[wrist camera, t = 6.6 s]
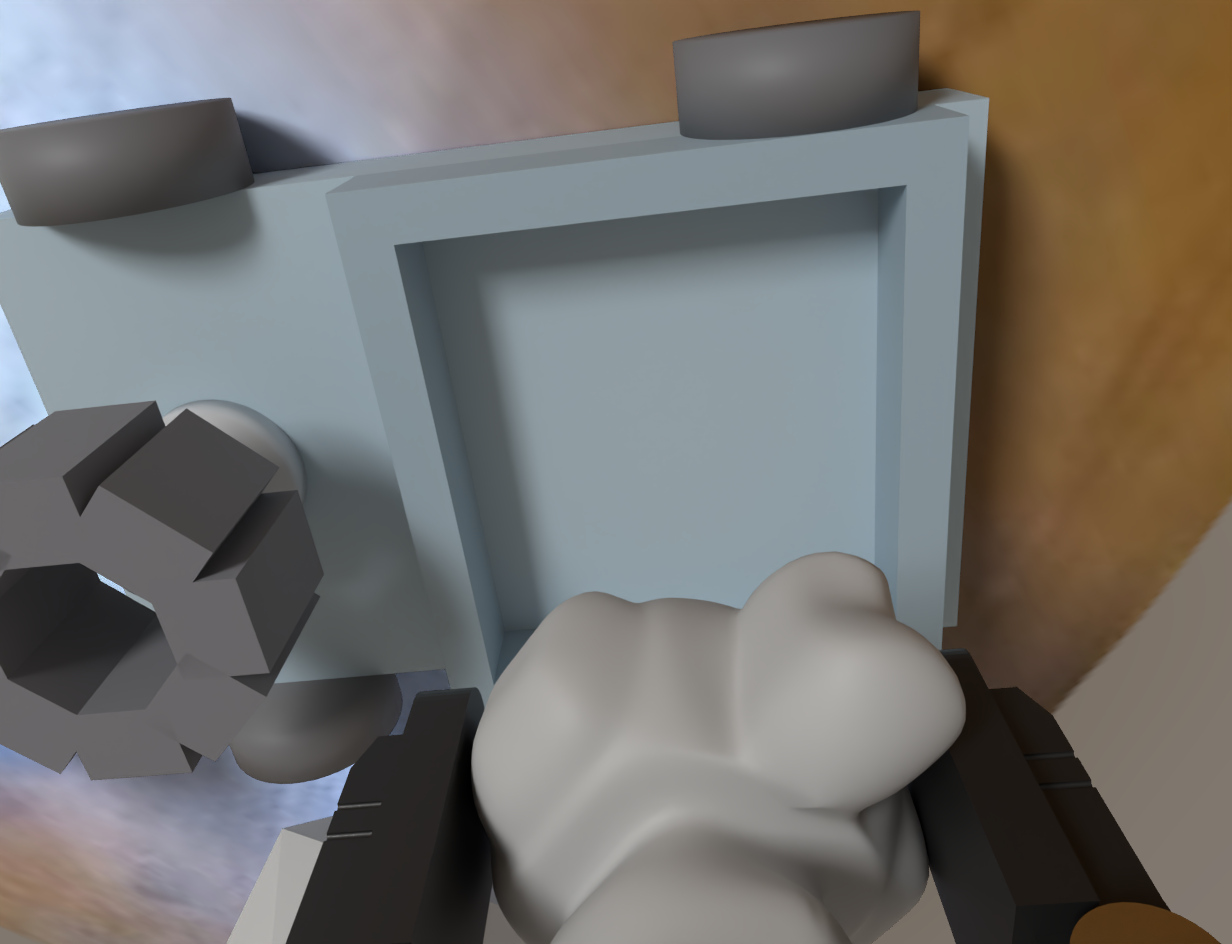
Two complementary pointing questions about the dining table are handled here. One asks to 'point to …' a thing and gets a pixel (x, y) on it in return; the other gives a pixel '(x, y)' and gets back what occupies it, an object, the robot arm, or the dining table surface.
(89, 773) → the spare wheel
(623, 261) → the chassis
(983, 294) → the dining table surface
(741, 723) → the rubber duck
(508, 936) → the die
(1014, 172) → the dining table surface
